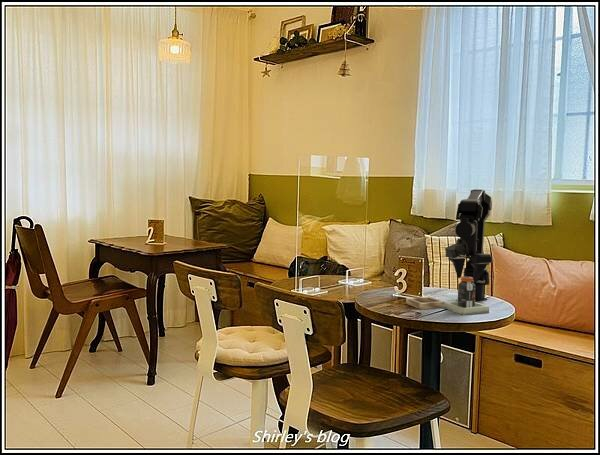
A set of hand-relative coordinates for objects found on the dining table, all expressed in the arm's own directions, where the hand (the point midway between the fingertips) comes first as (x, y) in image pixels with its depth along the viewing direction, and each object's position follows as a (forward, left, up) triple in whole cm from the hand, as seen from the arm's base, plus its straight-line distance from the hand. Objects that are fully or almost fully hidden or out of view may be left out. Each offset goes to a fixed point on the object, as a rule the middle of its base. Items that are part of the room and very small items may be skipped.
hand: (467, 280), depth 205 cm
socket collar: (+9, -12, -11) cm, 18 cm away
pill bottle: (0, 0, -10) cm, 10 cm away
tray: (0, 0, -11) cm, 11 cm away
